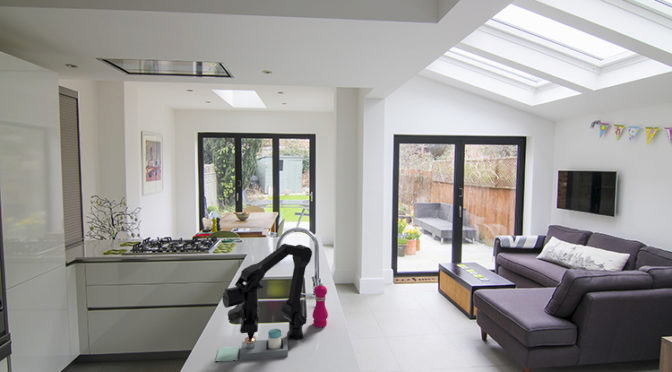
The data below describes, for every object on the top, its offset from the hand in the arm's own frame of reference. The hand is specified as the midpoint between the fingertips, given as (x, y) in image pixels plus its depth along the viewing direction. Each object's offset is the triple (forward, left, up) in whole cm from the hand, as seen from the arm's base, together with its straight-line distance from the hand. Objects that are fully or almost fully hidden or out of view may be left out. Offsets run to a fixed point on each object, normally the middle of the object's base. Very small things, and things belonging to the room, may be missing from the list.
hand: (250, 339), depth 139 cm
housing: (0, +5, -6) cm, 8 cm away
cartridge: (0, +9, -6) cm, 11 cm away
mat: (0, -9, -6) cm, 10 cm away
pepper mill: (-20, +30, -6) cm, 37 cm away
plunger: (0, 0, -6) cm, 6 cm away
